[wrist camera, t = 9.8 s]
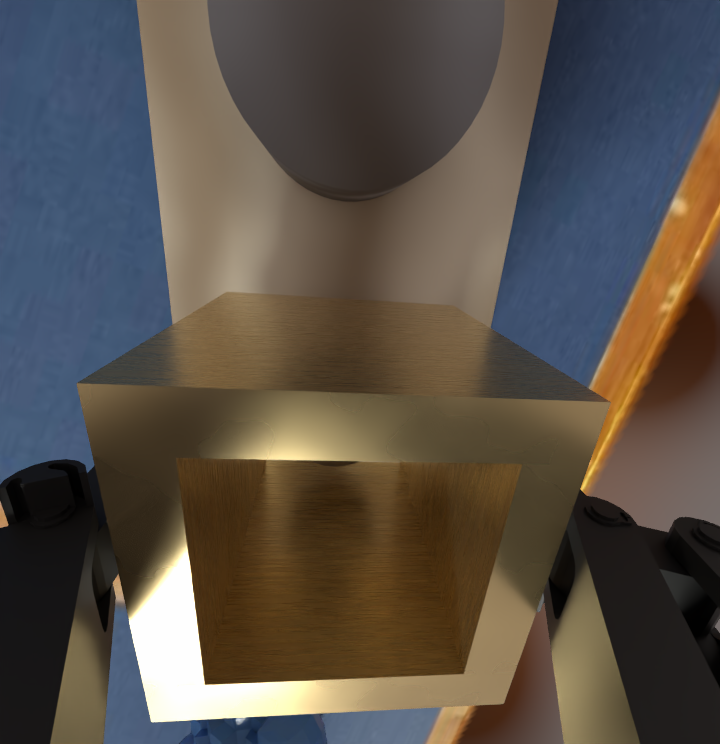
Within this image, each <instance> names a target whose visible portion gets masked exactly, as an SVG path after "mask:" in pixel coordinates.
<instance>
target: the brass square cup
mask: <svg viewBox="0 0 720 744" xmlns="http://www.w3.org/2000/svg"><path fill="white" fill-rule="evenodd" d="M77 388H78V392H79V397H80V401H81V406H82V410H83V415H84V419H85V424H86V428H87V433H88V437H89V442H90V446H91V451H92V455H93V460H94V464H95V469H96V473H97V478H98V482H99V487H100V491H101V496H102V500H103V505H104V509H105V514H106V518H107V523H108V527H109V532H110V536H111V541H112V545H113V550H114V554H115V559H116V564H117V568H118V573H119V577H120V582H121V586H122V591H123V595H124V600H125V604H126V609H127V613H128V618H129V622H130V627H131V631H132V636H133V640H134V645H135V649H136V654H137V658H138V663H139V667H140V672H141V676H142V681H143V685H144V690H145V694H146V699H147V703H148V708H149V712H150V717H151V721H152V722H162V721H182V720H201V719H220V718H240V717H259V716H278V715H298V714H317V713H337V712H356V711H375V710H395V709H414V708H433V707H453V706H472V705H491V704H503V703H504V701H505V698H506V695H507V692H508V690H509V687H510V684H511V681H512V679H513V676H514V673H515V670H516V667H517V664H518V661H519V659H520V656H521V653H522V651H523V648H524V645H525V642H526V639H527V636H528V634H529V631H530V628H531V625H532V622H533V620H534V616H535V614H536V611H537V608H538V606H539V603H540V600H541V597H542V594H543V592H544V589H545V586H546V583H547V580H548V578H549V575H550V572H551V569H552V566H553V563H554V561H555V558H556V555H557V552H558V549H559V547H560V544H561V541H562V538H563V535H564V533H565V530H566V527H567V524H568V521H569V519H570V516H571V513H572V510H573V507H574V504H575V502H576V499H577V496H578V493H579V490H580V488H581V485H582V482H583V479H584V476H585V474H586V471H587V468H588V465H589V462H590V460H591V457H592V454H593V451H594V448H595V445H596V443H597V440H598V437H599V434H600V431H601V429H602V426H603V423H604V420H605V417H606V415H607V412H608V409H609V406H610V403H611V402H610V401H608V400H606V399H605V398H603V397H601V396H600V395H598V394H597V393H595V392H593V391H592V390H590V389H588V388H587V387H585V386H584V385H582V384H580V383H579V382H577V381H576V380H574V379H572V378H571V377H569V376H567V375H566V374H564V373H563V372H561V371H559V370H558V369H556V368H554V367H553V366H551V365H550V364H548V363H546V362H545V361H543V360H541V359H540V358H538V357H537V356H535V355H533V354H532V353H530V352H528V351H527V350H525V349H524V348H522V347H520V346H519V345H517V344H515V343H514V342H512V341H511V340H509V339H507V338H506V337H504V336H502V335H501V334H499V333H498V332H496V331H494V330H493V329H491V328H489V327H488V326H486V325H485V324H483V323H481V322H480V321H478V320H476V319H475V318H473V317H472V316H470V315H468V314H467V313H465V312H463V311H462V310H460V309H459V308H457V307H455V306H454V305H439V304H423V303H406V302H390V301H374V300H357V299H341V298H325V297H308V296H292V295H276V294H259V293H243V292H225V293H224V294H222V295H220V296H219V297H217V298H215V299H214V300H212V301H211V302H209V303H207V304H206V305H204V306H202V307H201V308H199V309H197V310H196V311H194V312H193V313H191V314H189V315H188V316H186V317H184V318H183V319H181V320H179V321H178V322H176V323H175V324H173V325H171V326H170V327H168V328H166V329H165V330H163V331H161V332H160V333H158V334H156V335H155V336H153V337H152V338H150V339H148V340H147V341H145V342H143V343H142V344H140V345H138V346H137V347H135V348H134V349H132V350H130V351H129V352H127V353H125V354H124V355H122V356H120V357H119V358H117V359H116V360H114V361H112V362H111V363H109V364H107V365H106V366H104V367H102V368H101V369H99V370H97V371H96V372H94V373H93V374H91V375H89V376H88V377H86V378H84V379H83V380H81V381H79V382H78V383H77ZM299 460H320V461H379V462H357V463H354V464H351V465H347V466H339V467H332V466H324V465H320V464H317V463H314V462H312V461H299Z"/></svg>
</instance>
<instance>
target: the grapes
mask: <svg viewBox="0 0 720 744" xmlns="http://www.w3.org/2000/svg"><path fill="white" fill-rule="evenodd" d="M179 744H327V738H326V733H325V727H324V723H323V721H322V719H321V717H320V715H319V713H317V714H298V715H278V716H259V717H240V718H220V719H201V720H191V733H190V734H189V735H187V736H186V737H185V738H184V739H183V740H182V741H181V742H180V743H179Z"/></svg>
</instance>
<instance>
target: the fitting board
mask: <svg viewBox="0 0 720 744" xmlns="http://www.w3.org/2000/svg"><path fill="white" fill-rule="evenodd" d="M557 4H558V0H137V7H138V16H139V25H140V34H141V43H142V52H143V61H144V70H145V79H146V88H147V97H148V106H149V115H150V124H151V133H152V142H153V151H154V160H155V169H156V178H157V187H158V196H159V205H160V214H161V223H162V232H163V241H164V250H165V259H166V268H167V277H168V286H169V295H170V304H171V313H172V322H173V324H175V323H176V322H178V321H179V320H181V319H183V318H184V317H186V316H188V315H189V314H191V313H193V312H194V311H196V310H197V309H199V308H201V307H202V306H204V305H206V304H207V303H209V302H211V301H212V300H214V299H215V298H217V297H219V296H220V295H222V294H224V293H225V292H243V293H259V294H276V295H292V296H308V297H325V298H341V299H357V300H374V301H390V302H406V303H423V304H439V305H454V306H455V307H457V308H459V309H460V310H462V311H463V312H465V313H467V314H468V315H470V316H472V317H473V318H475V319H476V320H478V321H480V322H481V323H483V324H485V325H486V326H488V327H489V328H491V323H492V318H493V313H494V308H495V304H496V299H497V294H498V289H499V284H500V279H501V275H502V270H503V265H504V260H505V255H506V250H507V246H508V241H509V236H510V231H511V226H512V221H513V217H514V212H515V207H516V202H517V197H518V192H519V187H520V183H521V178H522V173H523V168H524V163H525V158H526V154H527V149H528V144H529V139H530V134H531V129H532V125H533V120H534V115H535V110H536V105H537V100H538V96H539V91H540V86H541V81H542V76H543V71H544V67H545V62H546V57H547V52H548V47H549V42H550V38H551V33H552V28H553V23H554V18H555V13H556V9H557ZM299 461H312V462H314V463H317V464H320V465H324V466H332V467H339V466H347V465H351V464H354V463H357V462H379V461H320V460H299Z"/></svg>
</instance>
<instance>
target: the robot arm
mask: <svg viewBox="0 0 720 744" xmlns="http://www.w3.org/2000/svg"><path fill="white" fill-rule="evenodd" d="M0 501H1V504H2V507H3V510H4V513H5V515H6V518H7V521H8V524H9V525H8V526H7V527H3V528H0V744H103V740H104V728H105V717H106V705H107V693H108V681H109V670H110V658H111V646H112V634H113V623H114V611H115V599H116V596H115V591H114V587H113V581H114V580H115V578H116V577H117V575H118V568H117V564H116V559H115V554H114V550H113V545H112V541H111V536H110V532H109V527H108V523H107V518H106V514H105V509H104V505H103V500H102V496H101V491H100V487H99V482H98V478H97V473H96V469H95V466H94V467H93V468H92V469H91V470H90V471H89V472H88V473H87V471H86V467H85V465H84V464H82V463H81V462H79V461H75V460H67V459H65V460H54V461H48V462H44V463H40V464H36V465H33V466H30V467H28V468H26V469H23V470H21V471H18V472H17V473H15V474H13V475H12V476H10V477H9V478H7V479H5V480H4V481H3V482H2V483H1V484H0ZM543 603H545V609H546V616H547V624H548V631H549V637H550V645H551V652H552V659H553V666H554V674H555V681H556V688H557V695H558V703H559V710H560V717H561V724H562V731H563V738H564V744H720V633H719V632H718V630H717V629H716V628H715V625H716V623H717V622H718V620H719V619H720V526H717V525H715V524H713V523H710V522H707V521H704V520H699V519H695V518H690V517H679V518H678V519H676V520H675V521H674V522H673V524H672V527H671V528H670V530H669V532H664V531H659V530H655V529H651V528H646V527H642V526H638V525H637V524H636V522H635V521H634V520H633V518H632V517H631V516H630V515H629V514H627V513H626V512H625V511H624V510H622V509H621V508H620V507H617V506H616V505H614V504H612V503H610V502H608V501H605V500H602V499H599V498H597V497H590V496H586V495H585V494H584V493H583V492H582V491H581V490H579V493H578V496H577V499H576V502H575V504H574V507H573V510H572V513H571V516H570V519H569V521H568V524H567V527H566V530H565V533H564V535H563V538H562V541H561V544H560V547H559V549H558V552H557V555H556V558H555V561H554V563H553V566H552V569H551V572H550V575H549V578H548V580H547V583H546V586H545V589H544V592H543V594H542V597H541V600H540V603H539V606H538V608H537V612H540V610H541V607H542V604H543Z"/></svg>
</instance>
